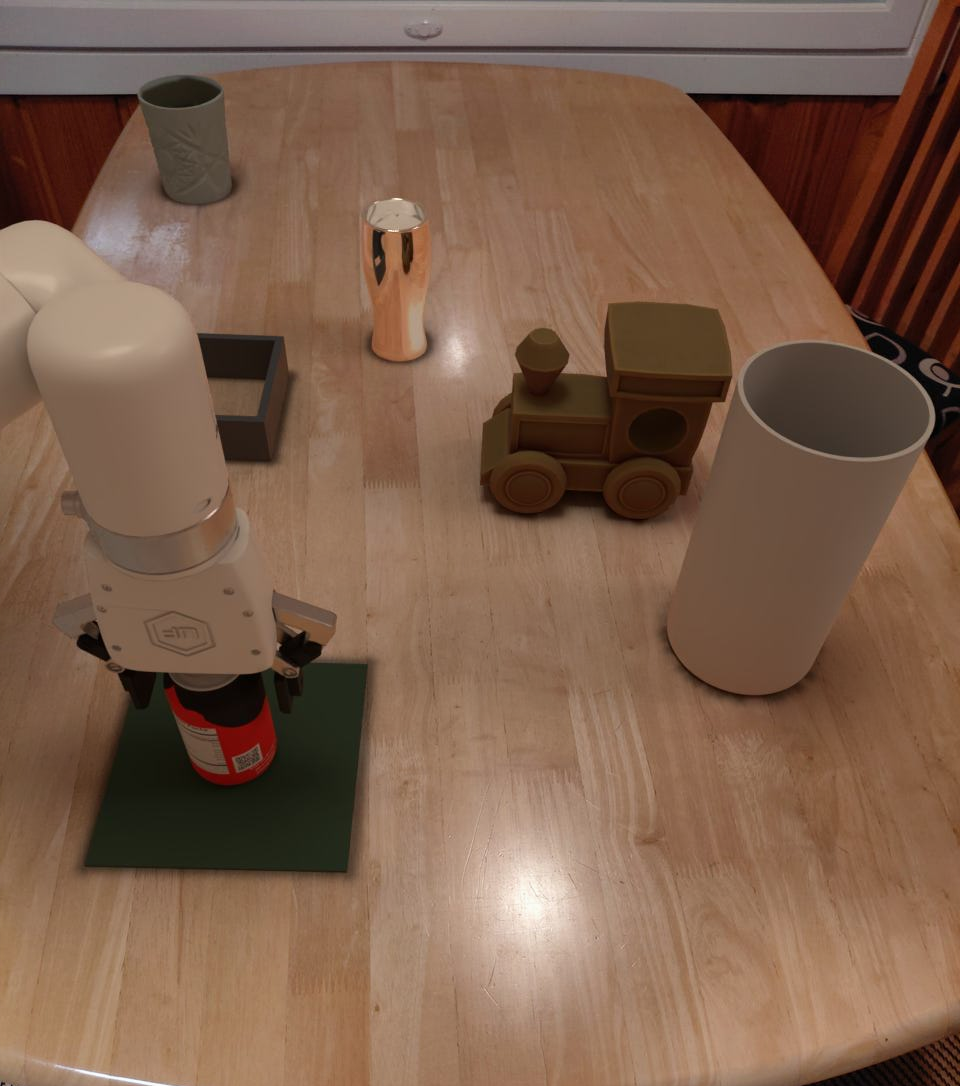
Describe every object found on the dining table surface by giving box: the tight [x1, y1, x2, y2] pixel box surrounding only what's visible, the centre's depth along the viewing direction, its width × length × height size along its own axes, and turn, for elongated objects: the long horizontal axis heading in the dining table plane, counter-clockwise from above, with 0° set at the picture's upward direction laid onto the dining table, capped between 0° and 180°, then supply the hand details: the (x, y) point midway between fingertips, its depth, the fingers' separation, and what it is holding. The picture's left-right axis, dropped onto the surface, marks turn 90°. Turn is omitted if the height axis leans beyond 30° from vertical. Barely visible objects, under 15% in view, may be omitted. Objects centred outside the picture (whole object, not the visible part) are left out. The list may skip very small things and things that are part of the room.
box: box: [197, 332, 290, 463], centre depth 95 cm, size 14×14×5 cm
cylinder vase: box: [666, 339, 936, 696], centre depth 72 cm, size 12×12×25 cm
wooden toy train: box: [479, 300, 733, 520], centre depth 86 cm, size 20×11×17 cm, turn 88°
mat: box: [84, 661, 368, 873], centre depth 72 cm, size 18×18×1 cm
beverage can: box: [163, 672, 277, 785], centre depth 67 cm, size 6×6×12 cm
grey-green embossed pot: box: [136, 74, 233, 205], centre depth 121 cm, size 10×10×12 cm
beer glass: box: [360, 197, 432, 362], centre depth 100 cm, size 7×7×15 cm
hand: (218, 694), depth 66 cm, fingers open, 9 cm apart
